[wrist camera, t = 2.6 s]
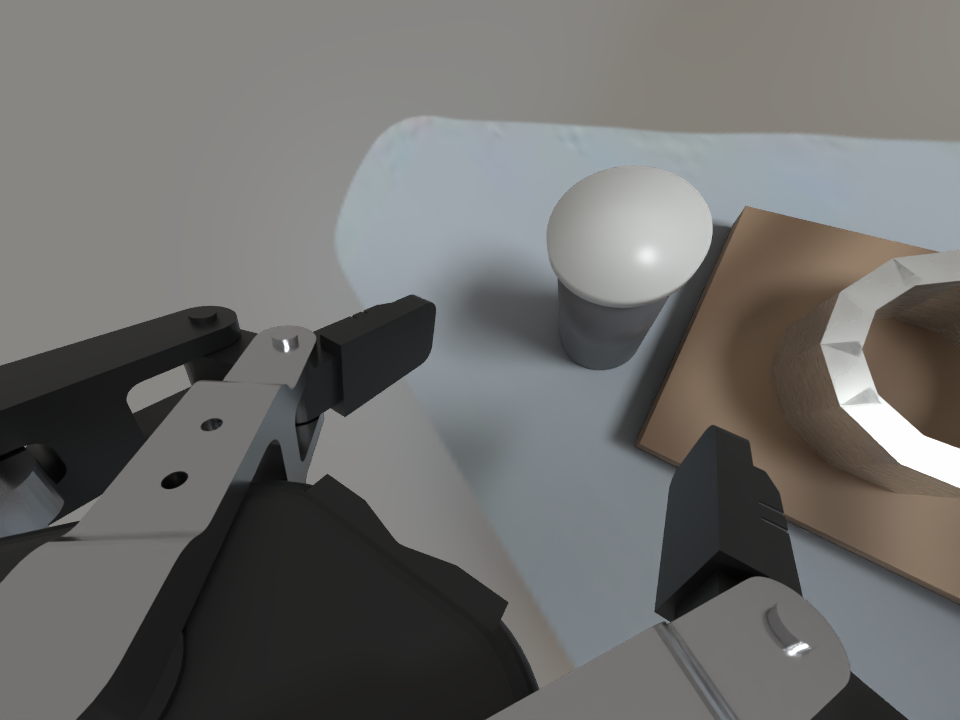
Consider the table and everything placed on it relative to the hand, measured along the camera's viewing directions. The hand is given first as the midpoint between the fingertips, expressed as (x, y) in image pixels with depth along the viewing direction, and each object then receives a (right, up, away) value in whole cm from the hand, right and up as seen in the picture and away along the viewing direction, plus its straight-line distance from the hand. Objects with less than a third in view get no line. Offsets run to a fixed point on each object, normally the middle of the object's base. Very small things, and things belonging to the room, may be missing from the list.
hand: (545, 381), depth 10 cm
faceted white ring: (+16, -1, +5) cm, 17 cm away
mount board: (+16, -1, +7) cm, 17 cm away
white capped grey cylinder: (+5, +2, +10) cm, 12 cm away
